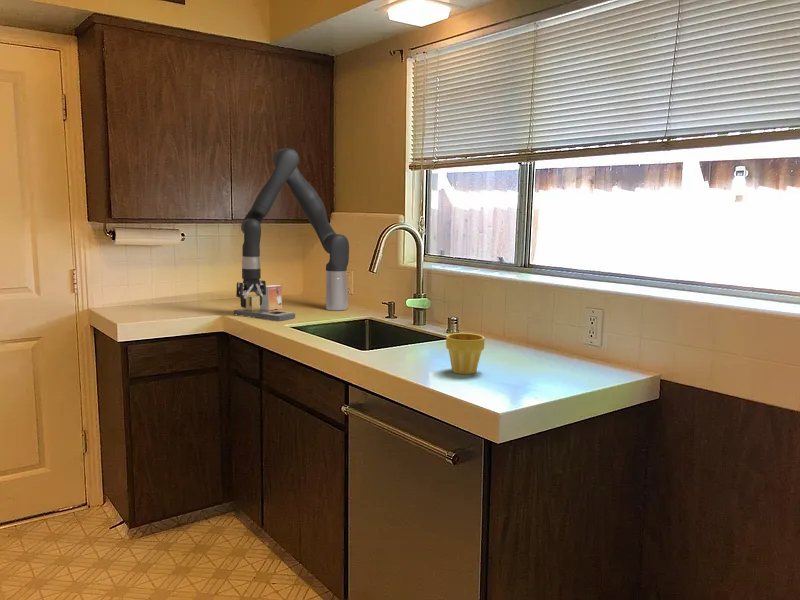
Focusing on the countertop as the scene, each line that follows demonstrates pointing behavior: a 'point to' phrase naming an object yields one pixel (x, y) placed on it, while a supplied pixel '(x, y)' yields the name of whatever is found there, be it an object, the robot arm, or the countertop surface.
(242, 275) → the robot arm
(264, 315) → the grey slotted board
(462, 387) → the countertop surface
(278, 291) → the small box
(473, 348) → the plant pot
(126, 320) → the countertop surface
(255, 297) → the nut block
